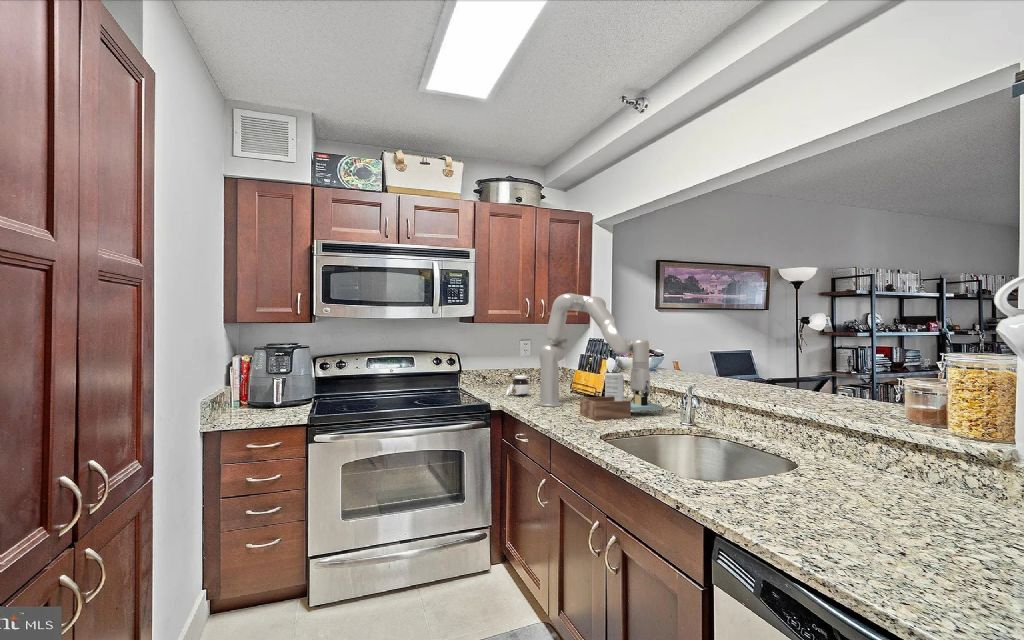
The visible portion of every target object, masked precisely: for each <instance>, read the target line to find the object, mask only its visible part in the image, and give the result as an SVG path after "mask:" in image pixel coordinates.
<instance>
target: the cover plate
mask: <svg viewBox="0 0 1024 640" xmlns="http://www.w3.org/2000/svg"><path fill="white" fill-rule="evenodd" d="M641 397H642V393H641V394H640V393H639V394H635V404H634V402H631V411H632V412H633V411H634V412H635V411H649V410H651V411H652V410H662V409H663V405H660V404H657V403H653V402H649V401H648V405H645V406H642V405H641Z"/></svg>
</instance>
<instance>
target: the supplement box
mask: <svg viewBox="0 0 1024 640" xmlns="http://www.w3.org/2000/svg"><path fill="white" fill-rule="evenodd" d="M604 379H605V380H604V383H605V384H604V387H605V389H604V391H605V392H604V397H612V396H614V397H615V401H624V393H625V392H624V384H625V383H624V373H619V372H618V373H612V372H606V373H605V376H604Z"/></svg>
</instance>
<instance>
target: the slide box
mask: <svg viewBox="0 0 1024 640" xmlns="http://www.w3.org/2000/svg"><path fill="white" fill-rule="evenodd" d="M631 403H632V401H631V400H623V401H615V397H614V396H612V397H605V396H596V397H580V398H579V415H580V416H582V417H585V418H587V419H589V420H593V421H595V422H598V421H611V419H614V420H624V419H625V418H628V419H631V413H632V410H631Z"/></svg>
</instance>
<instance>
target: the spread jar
mask: <svg viewBox="0 0 1024 640" xmlns="http://www.w3.org/2000/svg"><path fill="white" fill-rule="evenodd" d="M506 390H507V391H506V396H508V397H510V395H511V393H512V395H513V396H514V397H517V398H524V397H527V396H528V395H529V392H530V383H529V381H528V379H527V375H521V374H519V375H514V379H513V380H512V383H510V384H509V385H508V387H507V389H506Z"/></svg>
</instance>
